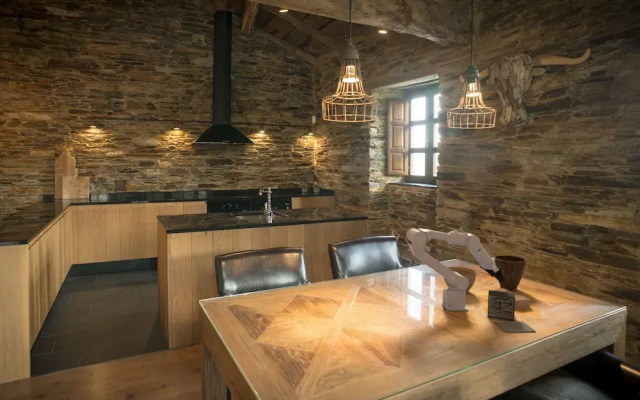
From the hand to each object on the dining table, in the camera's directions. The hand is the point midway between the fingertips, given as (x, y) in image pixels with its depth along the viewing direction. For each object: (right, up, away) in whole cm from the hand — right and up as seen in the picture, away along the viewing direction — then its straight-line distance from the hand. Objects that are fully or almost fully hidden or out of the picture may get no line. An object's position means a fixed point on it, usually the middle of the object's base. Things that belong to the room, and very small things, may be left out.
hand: (498, 278), depth 189 cm
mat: (-3, -15, -22) cm, 27 cm away
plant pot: (+17, -11, +28) cm, 34 cm away
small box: (-4, -15, -11) cm, 19 cm away
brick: (+8, -13, +6) cm, 17 cm away
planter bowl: (-10, -11, +22) cm, 27 cm away
